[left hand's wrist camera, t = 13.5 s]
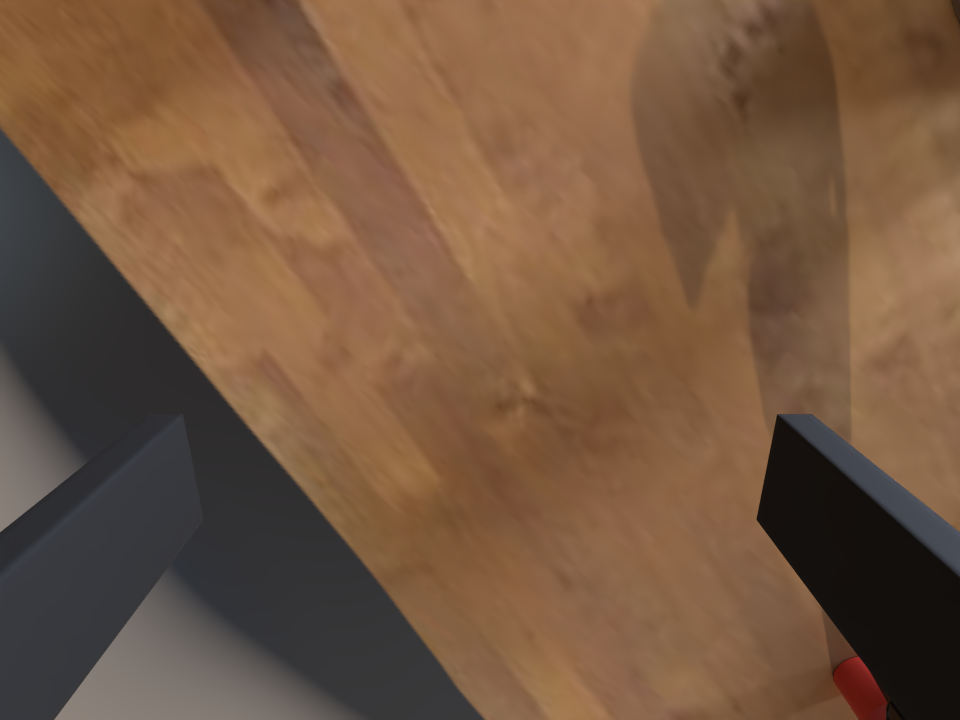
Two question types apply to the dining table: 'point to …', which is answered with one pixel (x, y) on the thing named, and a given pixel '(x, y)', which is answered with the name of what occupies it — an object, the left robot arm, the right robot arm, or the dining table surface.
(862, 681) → the canister
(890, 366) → the dining table surface
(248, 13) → the dining table surface
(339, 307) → the dining table surface
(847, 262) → the dining table surface
